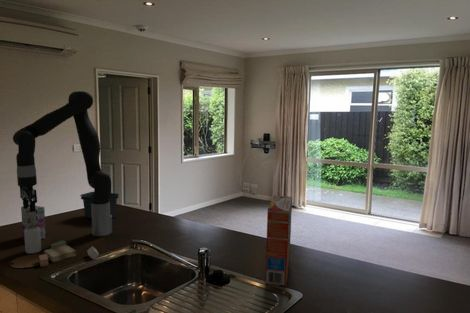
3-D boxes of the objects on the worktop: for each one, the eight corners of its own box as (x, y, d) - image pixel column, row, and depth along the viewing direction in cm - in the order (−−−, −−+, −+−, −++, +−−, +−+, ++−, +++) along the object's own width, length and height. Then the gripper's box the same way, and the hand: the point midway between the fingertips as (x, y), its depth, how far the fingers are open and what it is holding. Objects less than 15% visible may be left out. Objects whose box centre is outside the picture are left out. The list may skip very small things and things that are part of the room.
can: (34, 254, 165) (32, 229, 163) (22, 253, 166) (20, 228, 164) (44, 249, 171) (43, 224, 169) (32, 248, 172) (31, 223, 171)
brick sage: (61, 246, 176) (61, 240, 175) (66, 247, 174) (66, 241, 174) (51, 250, 170) (50, 244, 170) (55, 251, 169) (55, 245, 169)
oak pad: (66, 249, 171) (66, 244, 171) (76, 255, 164) (75, 250, 164) (44, 255, 164) (44, 250, 163) (53, 262, 157) (52, 257, 157)
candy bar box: (46, 237, 186) (45, 206, 184) (38, 241, 181) (36, 209, 179) (31, 234, 190) (29, 204, 188) (22, 237, 185) (20, 206, 183)
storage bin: (78, 218, 218) (77, 195, 216) (96, 211, 233) (95, 189, 231) (107, 222, 211) (106, 198, 209) (123, 215, 226) (123, 193, 224)
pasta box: (285, 286, 140) (289, 211, 136) (265, 283, 142) (267, 209, 138) (289, 261, 163) (292, 196, 158) (271, 260, 164) (273, 195, 160)
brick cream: (93, 259, 161) (99, 254, 162) (89, 255, 160) (94, 250, 161) (91, 254, 166) (96, 250, 167) (86, 250, 165) (92, 246, 166)
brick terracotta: (39, 261, 158) (39, 255, 158) (47, 260, 160) (46, 253, 159) (40, 267, 153) (40, 260, 153) (48, 265, 155) (48, 258, 154)
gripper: (41, 176, 161) (44, 211, 163) (30, 171, 171) (32, 205, 173) (23, 178, 156) (25, 214, 158) (12, 173, 165) (15, 208, 168)
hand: (29, 209), depth 165 cm, fingers open, 8 cm apart
